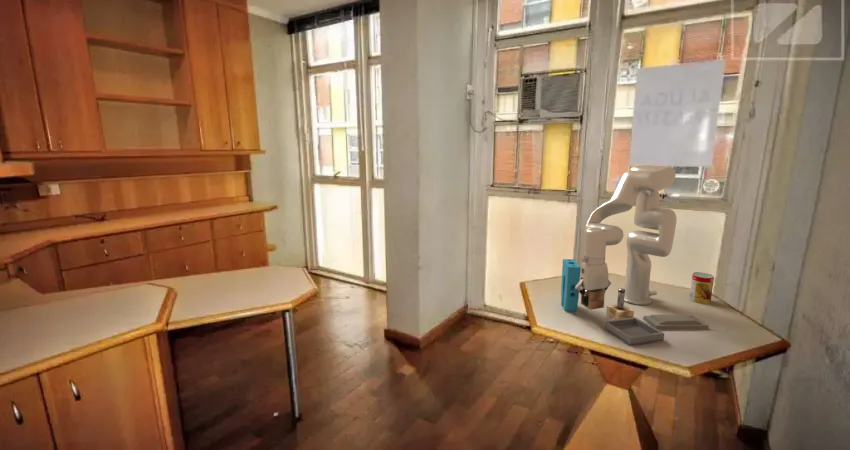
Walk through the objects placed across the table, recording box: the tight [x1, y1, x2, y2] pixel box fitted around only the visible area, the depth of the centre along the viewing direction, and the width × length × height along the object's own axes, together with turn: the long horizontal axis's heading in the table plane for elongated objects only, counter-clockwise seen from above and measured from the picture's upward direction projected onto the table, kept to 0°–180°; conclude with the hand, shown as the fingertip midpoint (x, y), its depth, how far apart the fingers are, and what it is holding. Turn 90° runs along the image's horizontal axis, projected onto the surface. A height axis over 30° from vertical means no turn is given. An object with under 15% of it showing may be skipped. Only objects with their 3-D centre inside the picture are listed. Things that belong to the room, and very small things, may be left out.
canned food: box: [688, 271, 715, 305], centre depth 176 cm, size 8×8×12 cm
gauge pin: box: [616, 287, 625, 310], centre depth 159 cm, size 2×2×12 cm
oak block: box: [605, 304, 635, 320], centre depth 160 cm, size 7×7×4 cm
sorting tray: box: [602, 316, 666, 347], centre depth 146 cm, size 14×14×3 cm
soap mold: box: [642, 314, 710, 331], centre depth 154 cm, size 10×20×4 cm, turn 89°
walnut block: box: [580, 287, 606, 311], centre depth 156 cm, size 6×6×7 cm
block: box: [560, 258, 582, 313], centre depth 169 cm, size 12×5×20 cm, turn 172°
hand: (592, 302), depth 157 cm, fingers closed on walnut block, 6 cm apart
